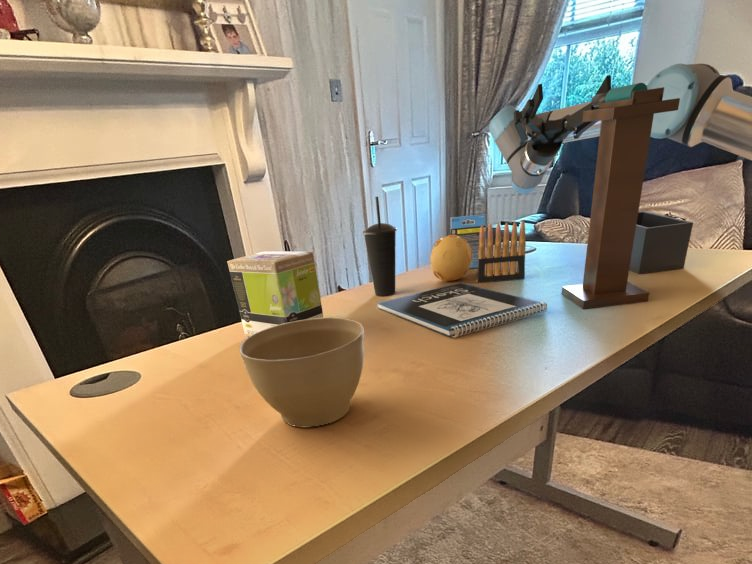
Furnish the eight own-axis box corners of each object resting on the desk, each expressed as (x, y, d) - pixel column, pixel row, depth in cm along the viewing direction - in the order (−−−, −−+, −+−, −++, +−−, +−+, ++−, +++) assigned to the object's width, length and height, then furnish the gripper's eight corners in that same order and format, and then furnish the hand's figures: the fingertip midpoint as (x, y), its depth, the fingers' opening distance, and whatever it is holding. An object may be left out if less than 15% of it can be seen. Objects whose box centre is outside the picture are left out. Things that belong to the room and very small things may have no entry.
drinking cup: (397, 287, 129) (390, 193, 118) (404, 294, 123) (397, 195, 111) (367, 292, 129) (356, 198, 117) (372, 299, 122) (362, 200, 111)
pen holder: (599, 256, 131) (604, 216, 126) (638, 251, 131) (644, 211, 126) (638, 274, 114) (646, 228, 109) (683, 268, 113) (693, 222, 108)
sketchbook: (460, 288, 122) (460, 279, 121) (549, 313, 99) (550, 302, 98) (377, 308, 116) (376, 298, 114) (452, 340, 93) (452, 328, 91)
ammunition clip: (524, 277, 123) (527, 219, 116) (524, 279, 122) (527, 220, 115) (477, 280, 125) (477, 224, 119) (477, 282, 124) (477, 225, 117)
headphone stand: (560, 293, 108) (578, 100, 90) (619, 286, 108) (648, 90, 90) (583, 310, 98) (609, 95, 80) (649, 301, 97) (689, 83, 79)
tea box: (327, 330, 106) (314, 250, 98) (290, 346, 101) (273, 262, 92) (280, 322, 115) (264, 248, 107) (243, 336, 110) (224, 259, 101)
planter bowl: (274, 394, 81) (257, 323, 75) (377, 387, 79) (369, 312, 73) (244, 444, 69) (221, 363, 62) (366, 437, 66) (355, 352, 60)
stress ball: (425, 280, 132) (423, 235, 126) (462, 273, 133) (462, 229, 128) (439, 287, 124) (438, 240, 118) (478, 280, 125) (478, 233, 120)
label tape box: (485, 264, 139) (486, 211, 132) (485, 268, 135) (486, 213, 128) (452, 267, 141) (450, 215, 133) (451, 270, 137) (449, 217, 130)
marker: (587, 111, 98) (587, 93, 96) (601, 107, 97) (602, 90, 96) (629, 105, 83) (631, 84, 81) (646, 101, 83) (648, 80, 81)
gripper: (594, 159, 126) (638, 99, 105) (491, 171, 127) (513, 114, 106) (592, 125, 126) (636, 58, 105) (488, 138, 126) (511, 74, 105)
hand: (574, 86), depth 105 cm, fingers open, 13 cm apart
